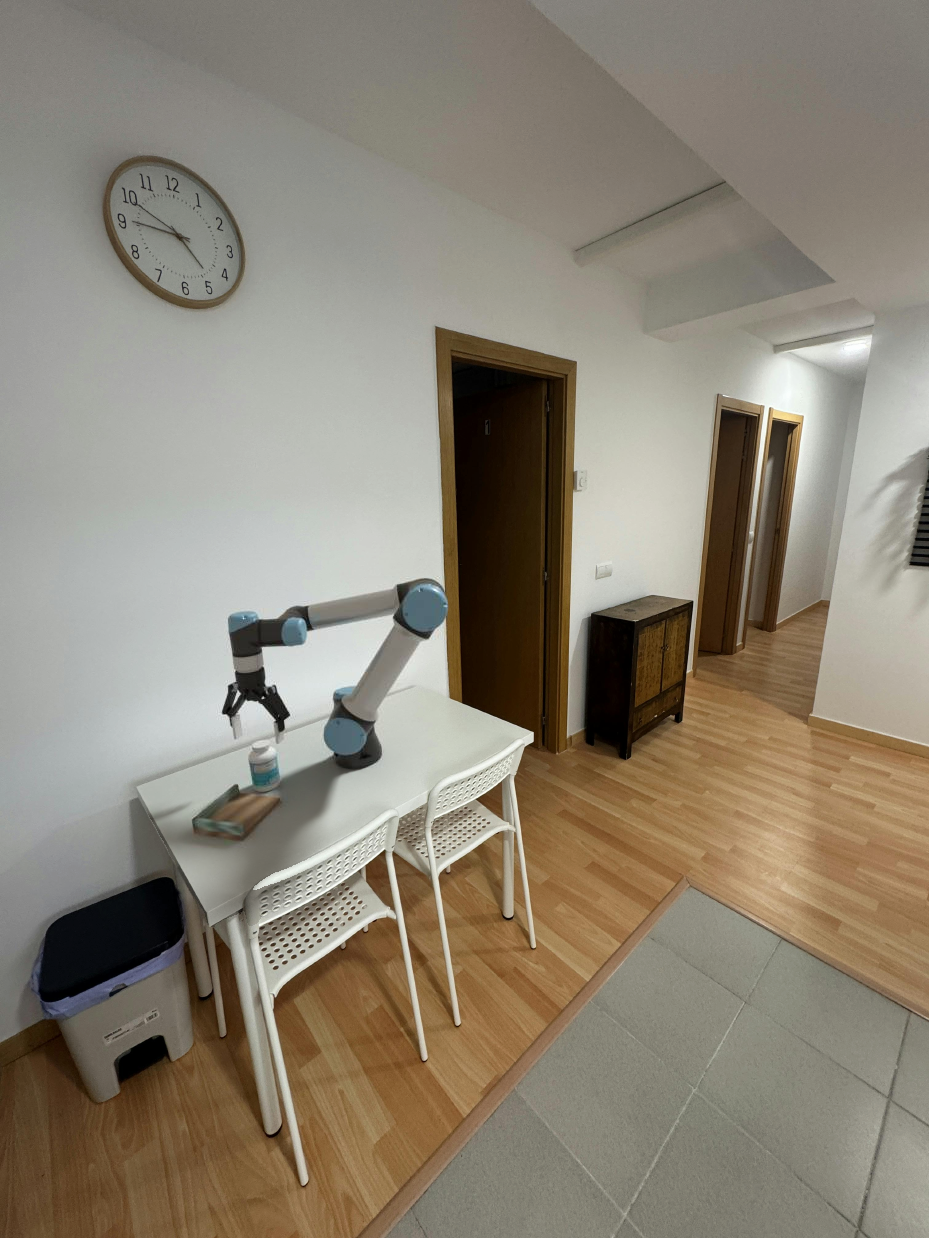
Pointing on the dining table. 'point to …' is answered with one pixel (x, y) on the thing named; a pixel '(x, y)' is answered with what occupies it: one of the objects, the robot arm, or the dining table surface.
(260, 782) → the pill bottle
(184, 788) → the dining table surface
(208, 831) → the rail board
